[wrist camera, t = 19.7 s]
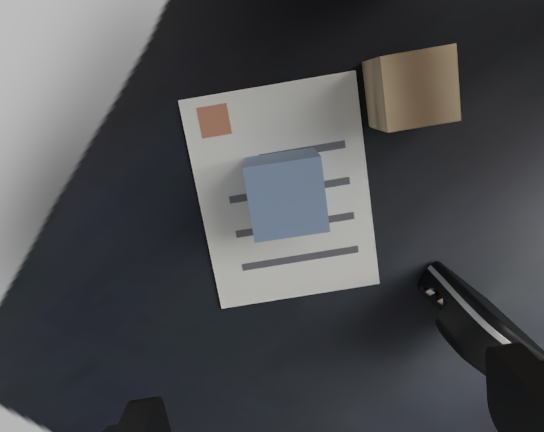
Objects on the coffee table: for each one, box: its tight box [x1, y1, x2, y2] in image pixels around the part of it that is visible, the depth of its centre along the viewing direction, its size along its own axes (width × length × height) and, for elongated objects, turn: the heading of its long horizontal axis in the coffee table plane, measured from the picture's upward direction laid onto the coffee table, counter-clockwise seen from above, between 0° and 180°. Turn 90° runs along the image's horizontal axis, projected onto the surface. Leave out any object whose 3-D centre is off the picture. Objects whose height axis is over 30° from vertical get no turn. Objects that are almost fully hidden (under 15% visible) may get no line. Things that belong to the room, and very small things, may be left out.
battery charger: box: [418, 261, 544, 376], centre depth 36 cm, size 7×4×11 cm, turn 52°
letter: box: [178, 70, 380, 309], centre depth 39 cm, size 14×18×1 cm
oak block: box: [362, 43, 461, 133], centre depth 34 cm, size 5×5×6 cm
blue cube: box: [242, 147, 330, 243], centre depth 36 cm, size 6×6×6 cm
